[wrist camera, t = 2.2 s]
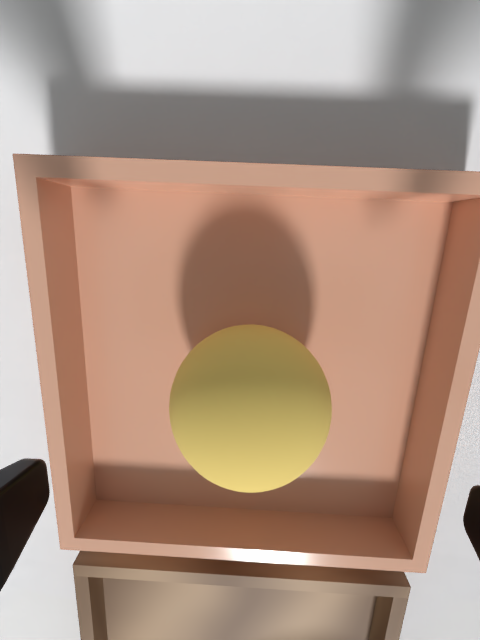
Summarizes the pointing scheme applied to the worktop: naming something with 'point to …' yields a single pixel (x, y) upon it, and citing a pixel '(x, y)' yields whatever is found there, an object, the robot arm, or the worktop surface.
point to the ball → (250, 408)
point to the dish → (259, 309)
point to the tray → (233, 599)
